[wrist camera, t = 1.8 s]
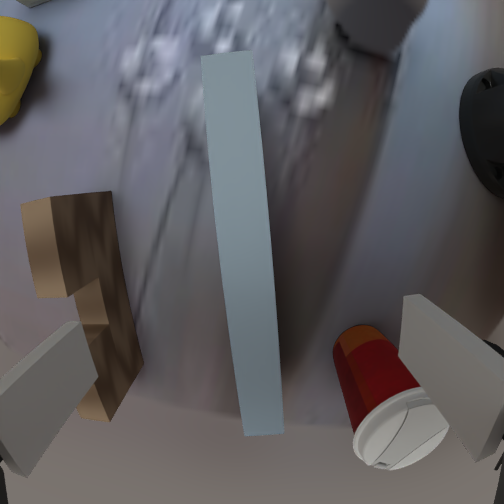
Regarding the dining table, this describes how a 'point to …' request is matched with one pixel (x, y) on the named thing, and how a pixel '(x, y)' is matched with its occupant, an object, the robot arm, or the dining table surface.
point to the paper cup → (384, 401)
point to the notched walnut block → (87, 287)
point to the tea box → (32, 2)
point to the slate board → (244, 236)
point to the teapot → (16, 62)
